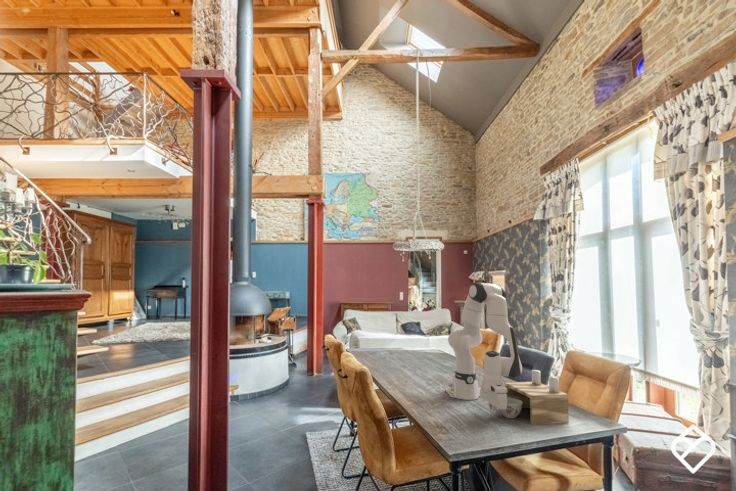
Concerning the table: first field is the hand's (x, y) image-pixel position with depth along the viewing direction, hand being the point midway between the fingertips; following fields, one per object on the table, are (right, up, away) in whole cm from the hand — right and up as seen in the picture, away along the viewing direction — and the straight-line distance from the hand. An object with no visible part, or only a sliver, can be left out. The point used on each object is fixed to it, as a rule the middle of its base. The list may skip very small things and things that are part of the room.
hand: (492, 412), depth 192 cm
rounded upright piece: (+28, +9, +14) cm, 33 cm away
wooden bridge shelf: (+23, -3, +5) cm, 24 cm away
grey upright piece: (+31, +11, 0) cm, 33 cm away
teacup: (+8, -3, +1) cm, 8 cm away
